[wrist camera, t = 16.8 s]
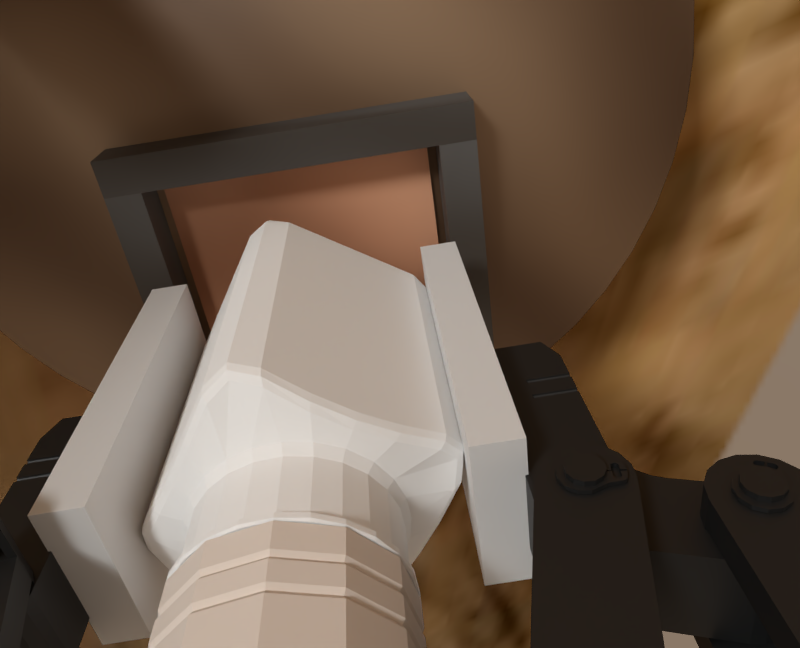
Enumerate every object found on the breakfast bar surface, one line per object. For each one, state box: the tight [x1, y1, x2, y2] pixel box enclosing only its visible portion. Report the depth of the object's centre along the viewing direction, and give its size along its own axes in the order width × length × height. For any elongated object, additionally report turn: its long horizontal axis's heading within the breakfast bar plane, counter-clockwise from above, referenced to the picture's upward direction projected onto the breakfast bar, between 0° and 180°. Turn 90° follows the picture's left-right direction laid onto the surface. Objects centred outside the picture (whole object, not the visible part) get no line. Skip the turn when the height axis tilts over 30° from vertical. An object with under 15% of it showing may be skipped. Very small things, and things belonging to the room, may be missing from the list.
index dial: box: [0, 0, 694, 394], centre depth 13 cm, size 18×18×8 cm
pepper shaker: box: [142, 220, 464, 648], centre depth 11 cm, size 4×4×10 cm
